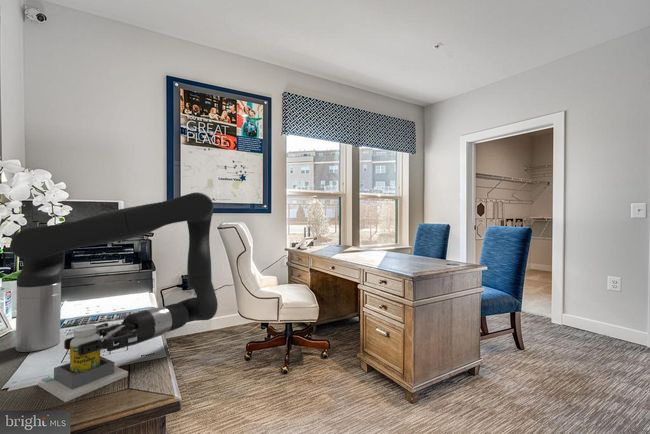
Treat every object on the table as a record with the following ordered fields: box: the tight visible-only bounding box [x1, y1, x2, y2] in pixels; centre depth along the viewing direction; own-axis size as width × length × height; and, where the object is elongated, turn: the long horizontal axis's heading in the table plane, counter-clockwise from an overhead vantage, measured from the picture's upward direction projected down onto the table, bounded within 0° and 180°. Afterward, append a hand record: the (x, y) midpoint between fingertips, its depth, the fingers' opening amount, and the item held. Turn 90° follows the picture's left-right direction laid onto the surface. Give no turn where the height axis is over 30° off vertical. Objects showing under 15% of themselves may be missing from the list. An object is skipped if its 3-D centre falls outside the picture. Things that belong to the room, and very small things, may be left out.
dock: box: [37, 355, 129, 403], centre depth 71 cm, size 12×12×4 cm
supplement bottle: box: [69, 324, 101, 375], centre depth 71 cm, size 5×5×10 cm
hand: (72, 347), depth 68 cm, fingers closed on supplement bottle, 5 cm apart
